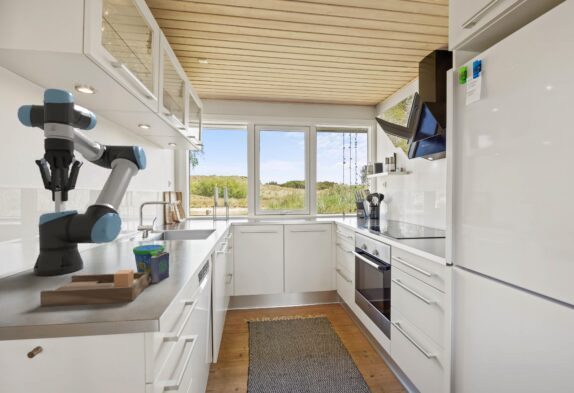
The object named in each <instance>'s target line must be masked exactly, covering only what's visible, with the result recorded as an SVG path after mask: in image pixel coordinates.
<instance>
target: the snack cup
mask: <svg viewBox="0 0 574 393" xmlns="http://www.w3.org/2000/svg"><path fill="white" fill-rule="evenodd" d="M158 249H159V250H162V251H161V252H163V251H164V252H165V246H164V245H163V244H145V245H138V246H135V247H133V249H132V252H133V255H134V259H135V265H136V271H137V272H136V273H143V272H150V277H151V257H152V256H154V255H157V252H158Z"/></svg>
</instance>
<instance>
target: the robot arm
mask: <svg viewBox="0 0 574 393" xmlns="http://www.w3.org/2000/svg"><path fill="white" fill-rule="evenodd" d="M42 103H43V105H40V104H26V105H21V106H20V107H19V108H17V118H18V121H19V122H20V123H21V124H22V125H23V126H25V127H29V128H39V129H40V130H42V131H43V134H44V137H45V138H44V139H43V140H44V141H43V142H44V144H43V148H44V149H43V150H44V154H43V157H41V158H40V159H35V161H34V162H35V164H36V166H38V169H39V173H40V176H41V180H42V183H43V186H44V189H45V190H48V191H51V200H52V202H54V212H46V213H42V214H41V215H40V216H39V219H38V220H39V221H38V232H39V233H38V241H39V242H38V244H39V246H38V247H39V249H38V250H39V253H38V256H37V257H36V261H35V263H34V266H33V269H32V270H33V275H34V276H38V277H39V276H40V277H49V276H59V275H64V274H70V273H73V272H77V271H80V270H82V269H84V260H83V258H82V256H81V252H80V251H79V244H97V245H99V244H100V245H101V244H107V243H108V244H109V243H111V242H114V240H116V239H117V237H119V234H120V232H121V230H122V227H121V226H122V218H121V216H120V215H119V214H120V213H119V212H118V211H119V208H120V206H121V203H122V201H123V200H124V199H123V198H124V196H125V194H126V192H127V190H128V187H129V185H130V183H131V180H132V179H133V177H135V176H137V175H138V173H139V171H140V170H141V171H142V170H146V168H147V156H146V153H145V150H144V148H143V147H141V146H138V145H134V144H133V145H111V144H109V145H107V144H101V142H99V141H96V140H92V139H91V138H89V137H88V136H87V135H86V134H84V133H83V132H81V131H80V130H82V131H90V130H93V129H94V128H95V127H96V125H97V124H98V120H97V116H96V115H95V113H93V112H92V111H90V110H89V109H88V108H85V107H83V106H81V105H78V104H76V103H75V99H74V96H73V94H72V93H71V92H69V91H68V90H67V91H66V90H63V89H59V88H47V89H45V90H44V93H43V101H42ZM75 151H76V152H78V153H79V154H81V156H82V158H83V159H84V160H86V161H87V162H90V163H91V164H93V165H96V166H97V167H100V168H104V169H108V170H111V171H110V173H109V175H108V177H107V179H106V181H105V183H104V185H103V186H102V188H101V191H100V193H99V195H98V196H97V199H96V201H95V203H94V204H91V205H89V206H87V208H86V210H85V212H84V213H79V212H78V210H77V209H73V210H66V202H68V201H69V191H72V190H75V189H76V185H77V181H78V177H79V174H80V170H81V167H82V166H83V165H84V162H83V161H82V160H79V159H77V158H76V154H74V152H75ZM48 165H49V166H48ZM70 166H71V167H70ZM69 172H70V173H69Z"/></svg>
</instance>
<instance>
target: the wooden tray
mask: <svg viewBox="0 0 574 393" xmlns="http://www.w3.org/2000/svg"><path fill="white" fill-rule="evenodd" d="M114 274H115V273H100V274H96V273H95V274H74V275H72V276H71V281H69V282H67V283H65V284H63V285H61V286H59V287H58V288H56V289H50V290H48V289H46V290H41V291H40V294H39V295H40V307H41V308H43V307H56V306H59V307H61V306H74V305H92V304H93V305H95V304H97V305H98V304H111V303H112V304H113V303H114V304H115V303H129V302H130V303H131V302H134V300H135V299H137V298H138V296H140V294H141V293H143V292H144V291H145V290H146V288H148V287H149V285H151V276H150V272H143V273H138V272H134V283H132V284H131V285H130V286H128V287H114Z"/></svg>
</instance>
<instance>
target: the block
mask: <svg viewBox="0 0 574 393" xmlns="http://www.w3.org/2000/svg"><path fill="white" fill-rule="evenodd" d="M134 273H135V272H134V269H124V270H121V269H120V270H118V271H116V272H115V273H113V274H114V287H128V286H130V285H131V284H132V283H134Z"/></svg>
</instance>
